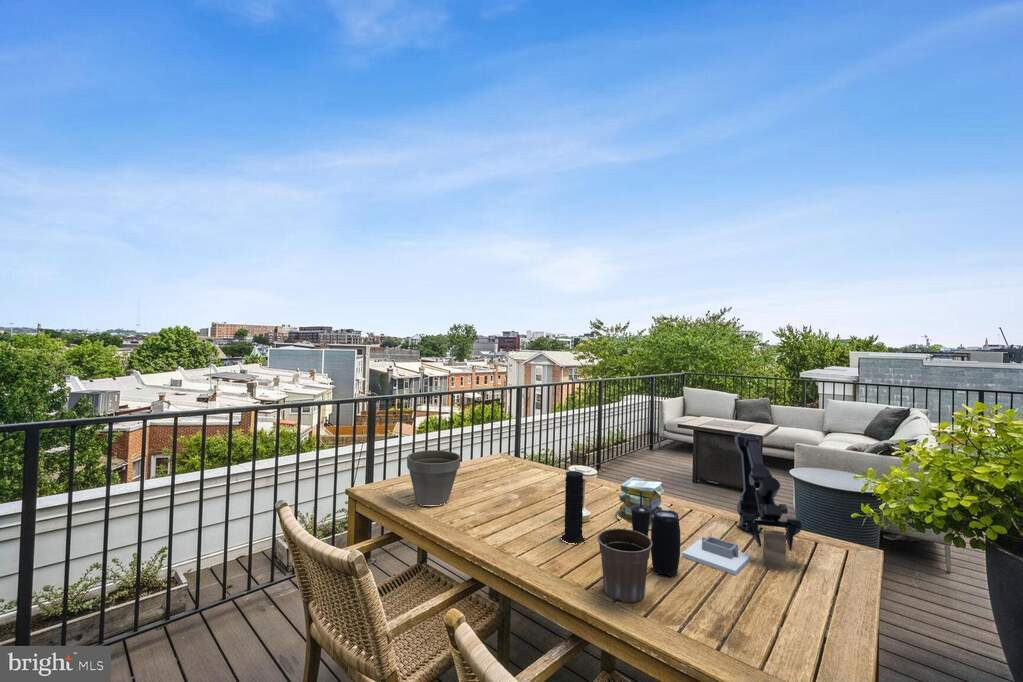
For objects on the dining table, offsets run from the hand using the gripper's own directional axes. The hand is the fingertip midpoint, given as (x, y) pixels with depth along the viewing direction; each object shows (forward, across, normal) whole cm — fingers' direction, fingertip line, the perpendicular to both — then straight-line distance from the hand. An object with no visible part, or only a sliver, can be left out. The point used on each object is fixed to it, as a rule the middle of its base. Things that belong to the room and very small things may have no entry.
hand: (775, 548), depth 155 cm
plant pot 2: (+26, -50, -16) cm, 58 cm away
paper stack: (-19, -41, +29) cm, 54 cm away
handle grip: (+3, -69, +8) cm, 69 cm away
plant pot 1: (-13, -137, +23) cm, 140 cm away
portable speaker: (+14, -37, -4) cm, 39 cm away
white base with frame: (+3, -18, +7) cm, 20 cm away
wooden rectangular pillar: (+4, 0, +6) cm, 7 cm away
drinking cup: (+1, -44, +10) cm, 45 cm away
